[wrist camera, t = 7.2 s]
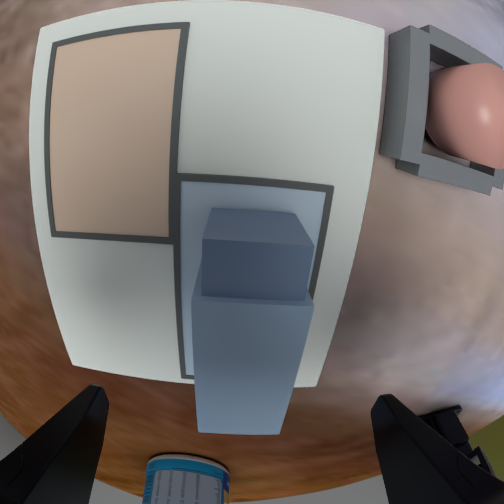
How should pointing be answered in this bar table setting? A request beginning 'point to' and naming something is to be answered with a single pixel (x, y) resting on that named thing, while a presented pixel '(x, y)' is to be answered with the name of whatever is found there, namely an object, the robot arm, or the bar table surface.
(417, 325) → the bar table surface
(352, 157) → the white sorting board
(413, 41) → the button housing
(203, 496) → the beverage bottle
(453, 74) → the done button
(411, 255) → the bar table surface
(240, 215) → the blue paint stick
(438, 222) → the bar table surface
